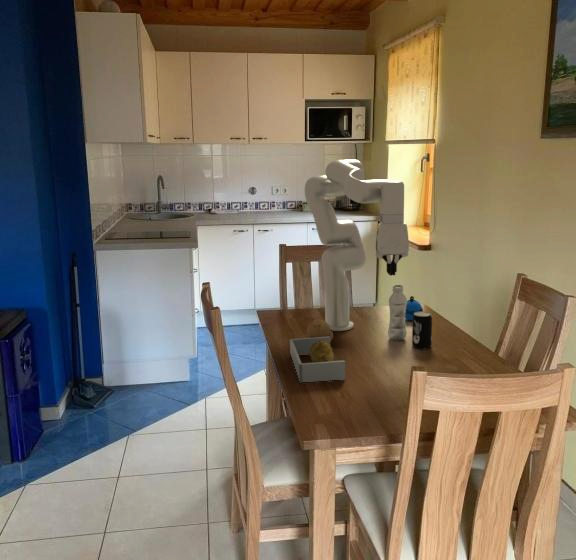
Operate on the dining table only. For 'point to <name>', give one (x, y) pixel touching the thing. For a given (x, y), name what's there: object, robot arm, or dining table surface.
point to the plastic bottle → (397, 314)
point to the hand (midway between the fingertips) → (391, 274)
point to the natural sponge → (319, 329)
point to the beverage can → (422, 330)
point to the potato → (321, 352)
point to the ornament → (412, 308)
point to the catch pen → (314, 370)
